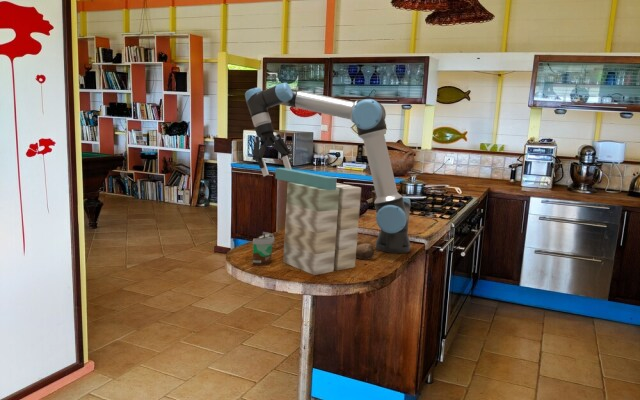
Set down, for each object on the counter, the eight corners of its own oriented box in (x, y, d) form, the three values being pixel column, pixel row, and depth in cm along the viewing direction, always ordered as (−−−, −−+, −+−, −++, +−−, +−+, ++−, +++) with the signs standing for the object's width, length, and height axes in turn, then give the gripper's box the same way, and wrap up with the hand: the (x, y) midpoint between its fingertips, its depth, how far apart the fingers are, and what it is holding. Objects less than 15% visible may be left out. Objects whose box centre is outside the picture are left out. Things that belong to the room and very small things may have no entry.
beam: (275, 178, 193) (275, 168, 193) (283, 178, 196) (284, 168, 195) (327, 190, 171) (328, 178, 171) (336, 189, 174) (336, 178, 173)
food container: (267, 267, 180) (269, 240, 179) (251, 265, 181) (252, 238, 180) (277, 258, 192) (279, 233, 191) (262, 257, 193) (263, 231, 192)
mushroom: (363, 246, 208) (364, 236, 203) (377, 257, 204) (378, 247, 199) (349, 256, 204) (350, 247, 200) (364, 268, 200) (365, 258, 196)
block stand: (283, 262, 188) (287, 182, 184) (322, 255, 202) (328, 181, 197) (314, 275, 175) (320, 189, 170) (354, 267, 188) (361, 187, 184)
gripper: (278, 126, 224) (292, 171, 223) (234, 130, 205) (250, 179, 205) (289, 120, 219) (303, 166, 218) (246, 124, 200) (261, 174, 200)
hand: (277, 173), depth 211 cm, fingers open, 13 cm apart
